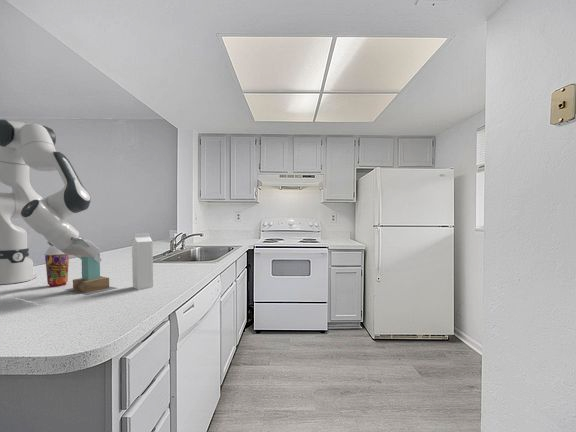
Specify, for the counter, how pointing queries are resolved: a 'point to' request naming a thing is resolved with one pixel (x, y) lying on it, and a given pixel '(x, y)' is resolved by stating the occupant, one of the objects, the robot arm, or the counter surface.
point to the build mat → (92, 291)
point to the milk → (142, 261)
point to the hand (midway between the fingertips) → (92, 260)
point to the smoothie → (56, 267)
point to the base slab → (90, 284)
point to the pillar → (90, 268)
